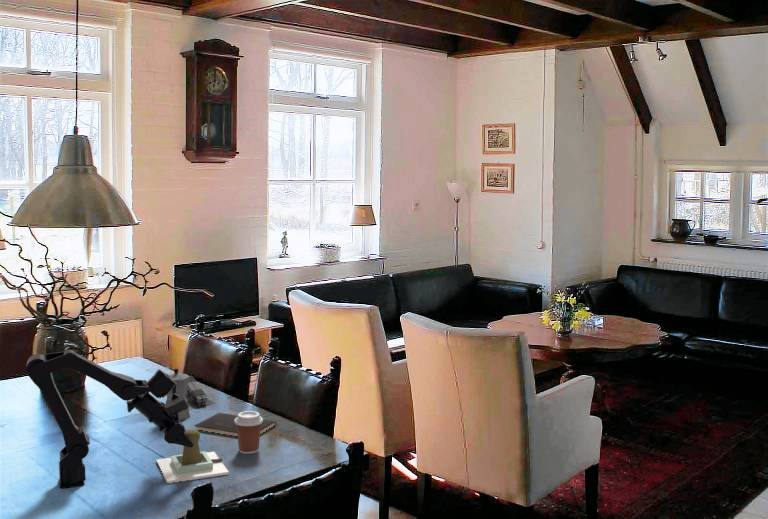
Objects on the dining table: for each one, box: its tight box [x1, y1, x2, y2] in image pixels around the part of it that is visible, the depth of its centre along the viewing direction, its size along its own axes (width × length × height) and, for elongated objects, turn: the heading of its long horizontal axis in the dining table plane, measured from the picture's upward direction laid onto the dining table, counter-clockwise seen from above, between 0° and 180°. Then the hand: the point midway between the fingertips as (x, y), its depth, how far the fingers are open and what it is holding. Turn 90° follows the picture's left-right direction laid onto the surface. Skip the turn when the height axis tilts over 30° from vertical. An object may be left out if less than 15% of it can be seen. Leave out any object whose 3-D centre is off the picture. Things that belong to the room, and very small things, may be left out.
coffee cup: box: [234, 410, 264, 455], centre depth 261 cm, size 9×9×12 cm
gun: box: [186, 375, 208, 407], centre depth 315 cm, size 4×20×10 cm, turn 31°
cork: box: [181, 428, 201, 466], centre depth 245 cm, size 6×6×11 cm
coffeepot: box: [165, 368, 191, 421], centre depth 291 cm, size 15×9×18 cm, turn 9°
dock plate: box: [155, 450, 230, 484], centre depth 246 cm, size 18×18×3 cm
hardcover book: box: [193, 412, 277, 437], centre depth 283 cm, size 16×23×2 cm
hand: (190, 441), depth 245 cm, fingers open, 9 cm apart
